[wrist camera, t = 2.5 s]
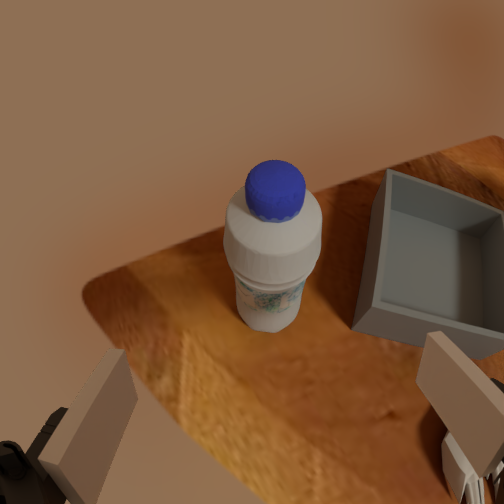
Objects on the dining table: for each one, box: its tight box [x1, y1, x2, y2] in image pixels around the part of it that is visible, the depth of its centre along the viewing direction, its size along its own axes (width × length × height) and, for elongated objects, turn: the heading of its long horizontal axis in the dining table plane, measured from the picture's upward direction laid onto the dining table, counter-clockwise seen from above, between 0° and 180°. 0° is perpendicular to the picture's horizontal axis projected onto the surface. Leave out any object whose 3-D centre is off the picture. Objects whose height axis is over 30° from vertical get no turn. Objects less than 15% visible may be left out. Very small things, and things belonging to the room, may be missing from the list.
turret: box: [441, 430, 504, 504], centre depth 21 cm, size 10×20×5 cm, turn 17°
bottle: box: [223, 160, 322, 333], centre depth 25 cm, size 7×7×20 cm
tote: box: [351, 168, 504, 360], centre depth 32 cm, size 18×18×7 cm
